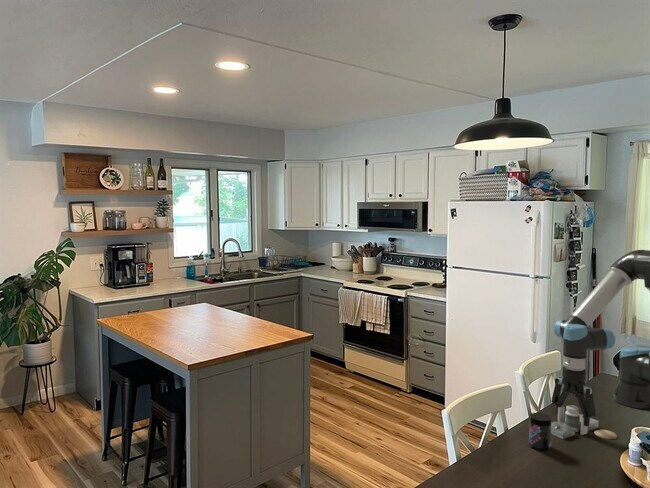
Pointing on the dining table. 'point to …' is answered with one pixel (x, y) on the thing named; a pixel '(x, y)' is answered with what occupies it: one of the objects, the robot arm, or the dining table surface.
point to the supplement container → (540, 431)
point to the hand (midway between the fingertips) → (571, 428)
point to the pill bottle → (572, 417)
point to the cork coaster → (605, 434)
